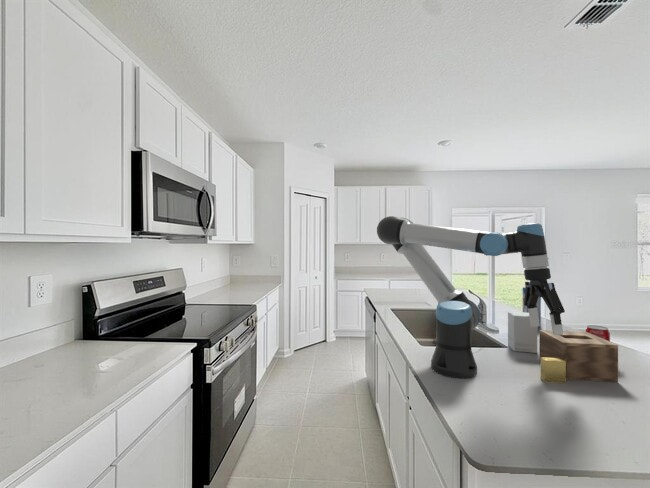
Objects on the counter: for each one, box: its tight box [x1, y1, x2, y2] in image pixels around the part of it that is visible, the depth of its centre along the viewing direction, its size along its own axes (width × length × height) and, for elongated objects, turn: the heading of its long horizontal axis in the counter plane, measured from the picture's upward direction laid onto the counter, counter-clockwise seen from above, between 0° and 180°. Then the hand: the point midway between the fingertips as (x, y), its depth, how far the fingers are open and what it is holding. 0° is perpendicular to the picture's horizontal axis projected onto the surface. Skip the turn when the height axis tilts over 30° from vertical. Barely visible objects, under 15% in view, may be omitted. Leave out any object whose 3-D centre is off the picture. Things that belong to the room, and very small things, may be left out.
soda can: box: [585, 325, 611, 342], centre depth 123 cm, size 7×7×13 cm
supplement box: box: [507, 311, 538, 354], centre depth 138 cm, size 9×9×15 cm
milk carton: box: [522, 287, 542, 328], centre depth 179 cm, size 10×6×20 cm, turn 161°
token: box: [540, 357, 567, 384], centre depth 106 cm, size 6×3×7 cm, turn 80°
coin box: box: [538, 329, 619, 383], centre depth 114 cm, size 16×16×12 cm
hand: (546, 330), depth 110 cm, fingers open, 13 cm apart
